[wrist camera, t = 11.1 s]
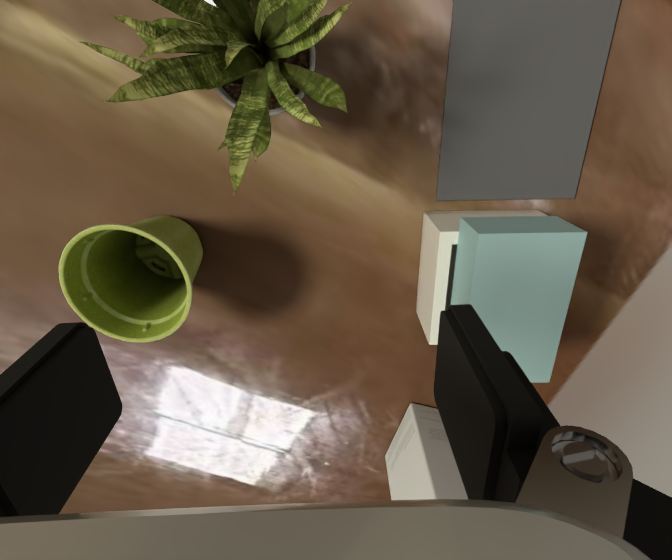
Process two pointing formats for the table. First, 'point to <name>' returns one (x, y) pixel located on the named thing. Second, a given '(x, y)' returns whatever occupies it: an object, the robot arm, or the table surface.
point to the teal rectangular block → (519, 282)
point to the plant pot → (132, 277)
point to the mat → (521, 96)
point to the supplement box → (422, 459)
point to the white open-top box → (444, 262)
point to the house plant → (237, 63)
